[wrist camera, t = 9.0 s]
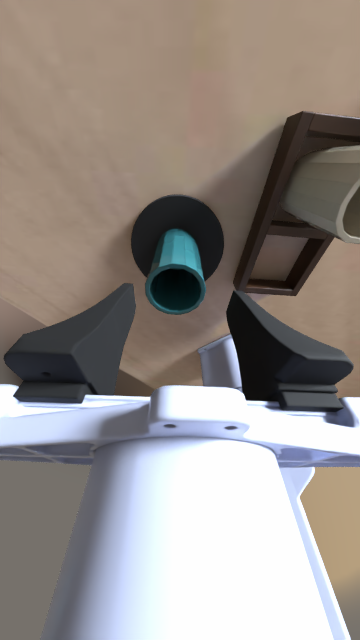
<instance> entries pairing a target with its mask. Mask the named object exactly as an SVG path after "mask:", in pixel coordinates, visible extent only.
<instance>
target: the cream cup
mask: <svg viewBox="0 0 360 640" xmlns="http://www.w3.org/2000/svg"><path fill="white" fill-rule="evenodd" d="M279 202H280V205H281V207H282V209H283V210H284V211H285V212H287V213H288V214H290V215H291V216H293V217H295V218H297V219H299V220H301V221H303V222H305V223H307V224H309V225H311V226H314V227H316V228H318V229H320V230H322V231H324V232H326V233H328V234H330V235H332V236H334V237H336V238H338V239H340V240H342V241H344V242H346V243H354V244H360V145H357V146H345V147H333V148H322V149H318V150H314V151H311V152H309V153H307V154H305V155H303V156H302V157H301V158H299V159H298V160H297V161H296V162H295V163H294V166H293V168H292V171H291V173H290V176H289V178H288V181H287V183H286V186H285V188H284V191H283V194H282V196H281V199H280V201H279Z"/></svg>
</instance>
